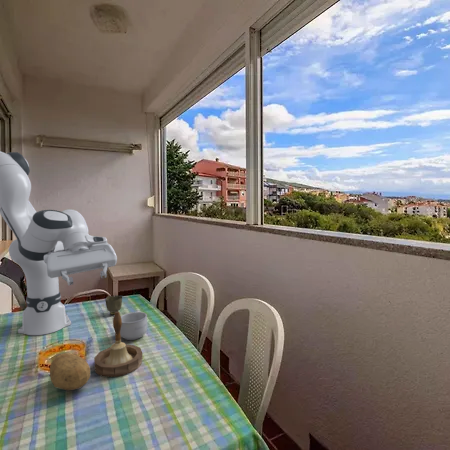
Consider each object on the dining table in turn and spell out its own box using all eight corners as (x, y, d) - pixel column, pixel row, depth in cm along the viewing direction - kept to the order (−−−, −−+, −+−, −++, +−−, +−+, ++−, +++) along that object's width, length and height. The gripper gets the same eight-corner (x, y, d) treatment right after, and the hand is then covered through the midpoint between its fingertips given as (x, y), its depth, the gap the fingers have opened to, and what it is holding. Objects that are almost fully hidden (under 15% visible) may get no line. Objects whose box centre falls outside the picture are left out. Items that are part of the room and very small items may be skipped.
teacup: (139, 344, 108) (138, 322, 107) (112, 342, 110) (111, 320, 110) (155, 328, 122) (155, 309, 121) (131, 326, 124) (130, 307, 123)
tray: (93, 359, 98) (93, 350, 97) (138, 349, 104) (137, 341, 103) (95, 382, 85) (95, 371, 85) (145, 369, 91) (145, 360, 91)
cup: (119, 317, 134) (118, 299, 134) (103, 317, 134) (102, 299, 134) (125, 311, 142) (124, 294, 141) (109, 311, 142) (109, 294, 141)
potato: (63, 406, 75) (62, 375, 74) (42, 385, 84) (41, 357, 83) (100, 388, 82) (99, 359, 82) (78, 370, 91) (76, 344, 91)
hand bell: (99, 362, 94) (97, 312, 92) (124, 352, 100) (122, 305, 98) (112, 372, 88) (110, 319, 87) (137, 361, 94) (136, 312, 93)
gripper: (41, 246, 92) (47, 281, 84) (111, 236, 103) (122, 266, 95) (43, 260, 95) (49, 294, 88) (110, 249, 107) (120, 279, 99)
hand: (87, 280), depth 91 cm, fingers open, 8 cm apart
